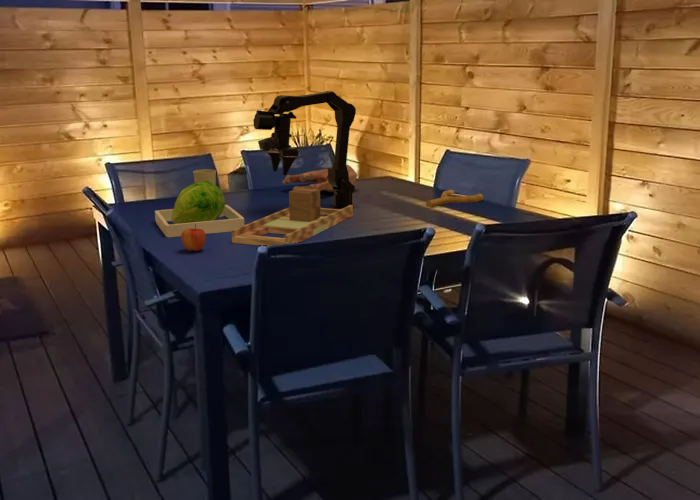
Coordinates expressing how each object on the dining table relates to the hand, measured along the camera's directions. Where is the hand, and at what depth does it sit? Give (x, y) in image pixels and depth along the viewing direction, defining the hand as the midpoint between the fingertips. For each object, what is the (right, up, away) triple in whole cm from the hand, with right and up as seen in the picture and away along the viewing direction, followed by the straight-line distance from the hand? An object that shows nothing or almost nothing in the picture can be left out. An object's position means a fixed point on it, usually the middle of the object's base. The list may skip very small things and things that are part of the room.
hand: (279, 173), depth 284 cm
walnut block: (+10, -17, -14) cm, 24 cm away
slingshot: (+65, -10, +22) cm, 69 cm away
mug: (-33, -8, +33) cm, 47 cm away
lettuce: (-27, -20, -14) cm, 36 cm away
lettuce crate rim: (-27, -20, -14) cm, 36 cm away
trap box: (+8, -21, -19) cm, 29 cm away
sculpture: (+14, -3, +48) cm, 50 cm away
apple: (-22, -29, -47) cm, 59 cm away
